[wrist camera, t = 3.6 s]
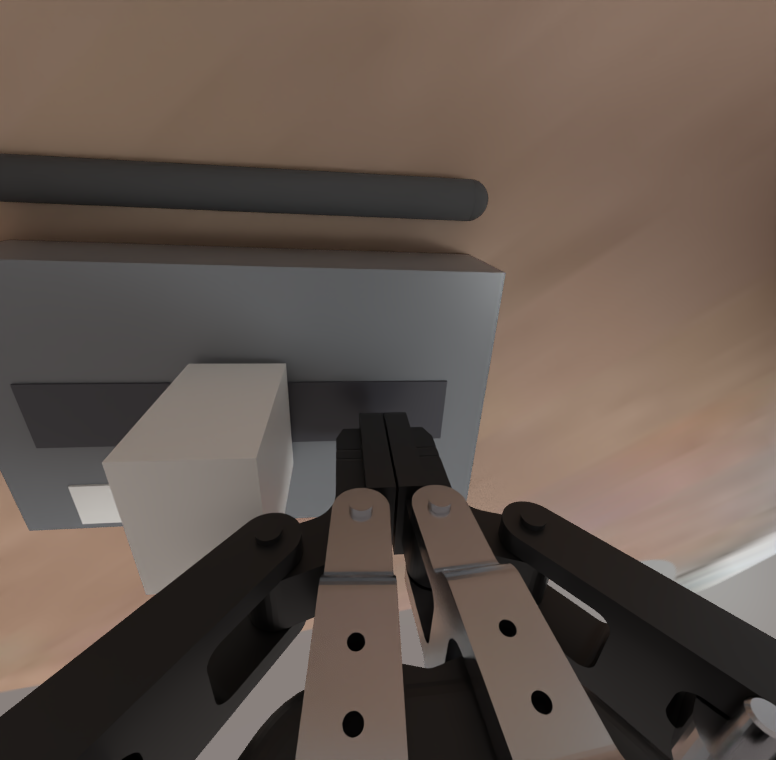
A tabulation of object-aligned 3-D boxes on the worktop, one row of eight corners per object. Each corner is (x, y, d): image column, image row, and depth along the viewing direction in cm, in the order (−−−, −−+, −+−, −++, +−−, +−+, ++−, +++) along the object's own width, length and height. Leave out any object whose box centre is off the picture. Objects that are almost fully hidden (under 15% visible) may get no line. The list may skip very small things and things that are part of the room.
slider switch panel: (483, 180, 15) (496, 179, 14) (441, 493, 22) (447, 512, 20) (-28, 152, 13) (-67, 148, 12) (101, 507, 20) (84, 529, 18)
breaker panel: (468, 254, 16) (506, 273, 12) (443, 453, 20) (465, 512, 17) (10, 239, 14) (-106, 257, 10) (90, 464, 18) (27, 532, 15)
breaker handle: (285, 363, 13) (256, 457, 8) (293, 463, 14) (271, 586, 10) (188, 363, 12) (101, 462, 8) (208, 465, 14) (145, 594, 10)
